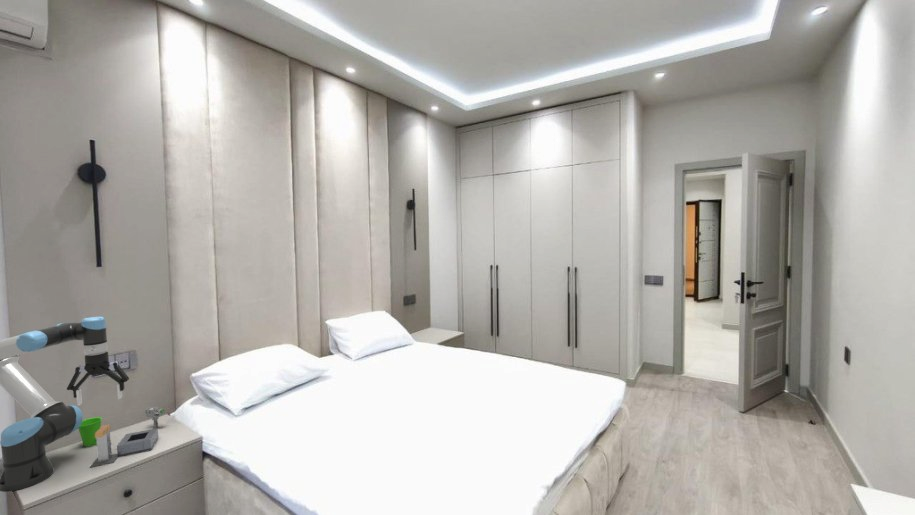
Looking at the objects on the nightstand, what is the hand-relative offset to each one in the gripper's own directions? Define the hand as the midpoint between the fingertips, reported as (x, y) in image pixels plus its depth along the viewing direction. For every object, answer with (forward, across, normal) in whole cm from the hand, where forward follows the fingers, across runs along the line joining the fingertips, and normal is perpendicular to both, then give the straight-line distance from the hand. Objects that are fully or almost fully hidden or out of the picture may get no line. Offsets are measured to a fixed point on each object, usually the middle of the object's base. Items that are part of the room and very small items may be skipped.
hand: (100, 401), depth 171 cm
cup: (+27, -12, +22) cm, 37 cm away
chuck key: (+26, 0, 0) cm, 26 cm away
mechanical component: (+27, +12, +27) cm, 40 cm away
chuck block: (+27, +10, +7) cm, 29 cm away
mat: (+27, 0, 0) cm, 27 cm away
